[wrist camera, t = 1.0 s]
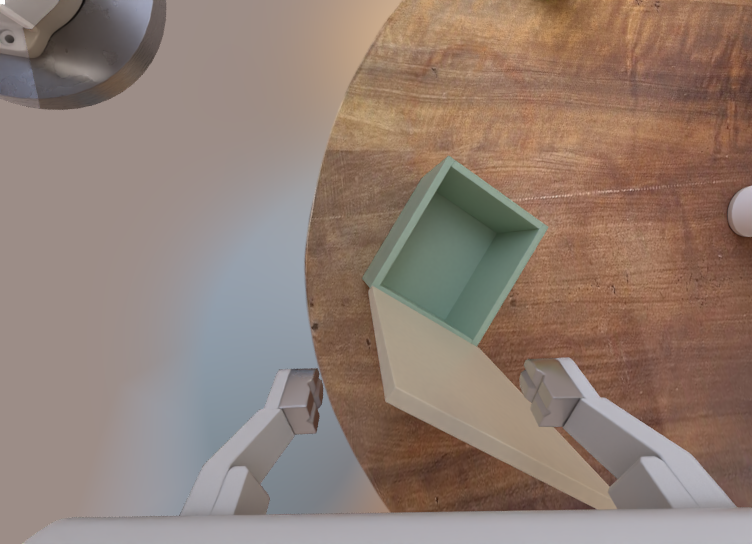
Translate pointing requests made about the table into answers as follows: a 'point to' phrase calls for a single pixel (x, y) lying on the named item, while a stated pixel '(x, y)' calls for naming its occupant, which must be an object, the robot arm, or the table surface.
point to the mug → (741, 212)
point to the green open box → (455, 250)
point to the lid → (472, 399)
